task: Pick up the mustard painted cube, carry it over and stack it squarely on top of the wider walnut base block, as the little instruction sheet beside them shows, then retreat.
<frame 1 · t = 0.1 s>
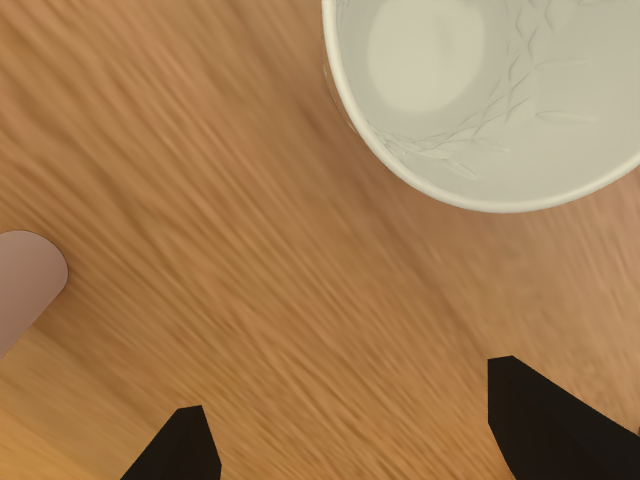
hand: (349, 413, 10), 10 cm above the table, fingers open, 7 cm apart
smoothie: (30, 265, 19), on the table
white cup: (402, 57, 16), on the table
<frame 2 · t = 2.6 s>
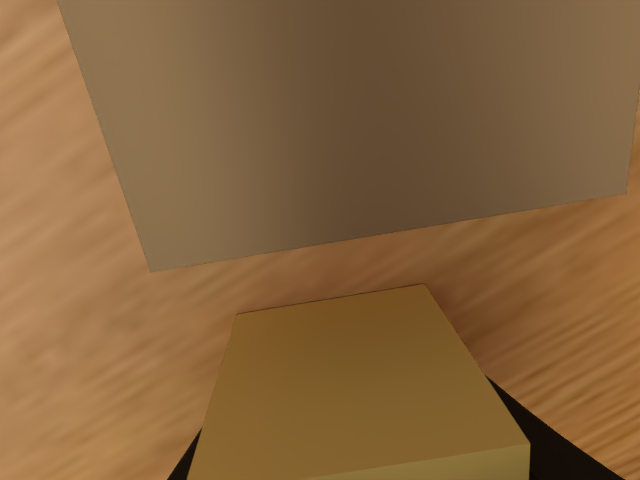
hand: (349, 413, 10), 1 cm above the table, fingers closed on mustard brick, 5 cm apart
mustard brick: (343, 375, 11), on the table, touching gripper
walnut base: (331, 17, 8), on the table
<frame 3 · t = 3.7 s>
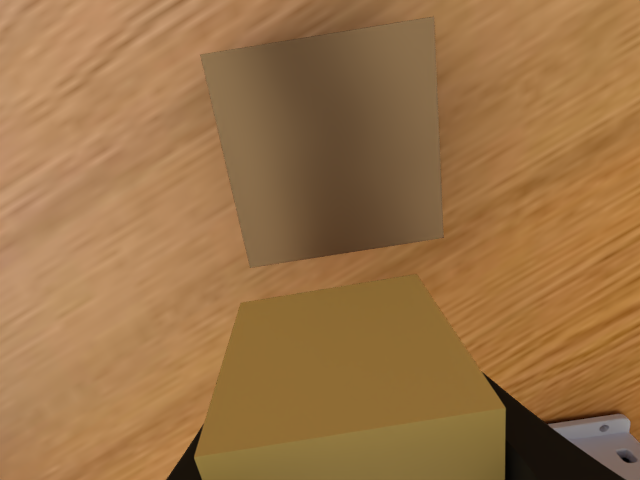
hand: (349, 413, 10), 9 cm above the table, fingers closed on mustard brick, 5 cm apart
mustard brick: (340, 361, 12), point 7 cm above the table, touching gripper
walnut base: (326, 142, 16), on the table
when the fingers open (6 cm above the table, at t = 5.1 s): mustard brick stays where it is, resting on walnut base.
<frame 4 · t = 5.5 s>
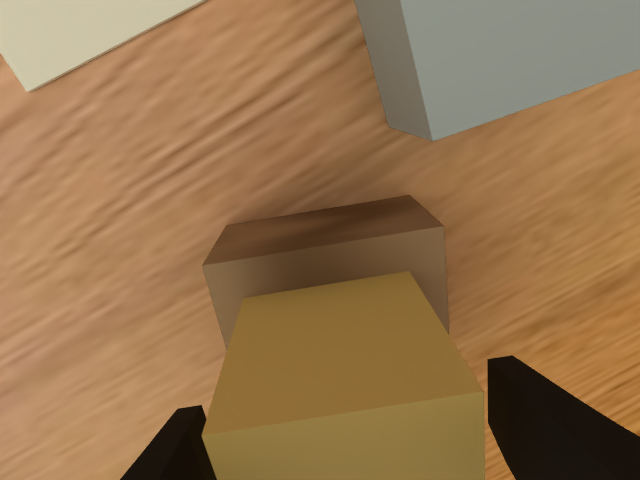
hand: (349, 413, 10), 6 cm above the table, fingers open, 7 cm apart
mustard brick: (338, 353, 12), point 4 cm above the table, touching walnut base
walnut base: (330, 289, 16), on the table, touching mustard brick
slate brick: (440, 25, 13), on the table
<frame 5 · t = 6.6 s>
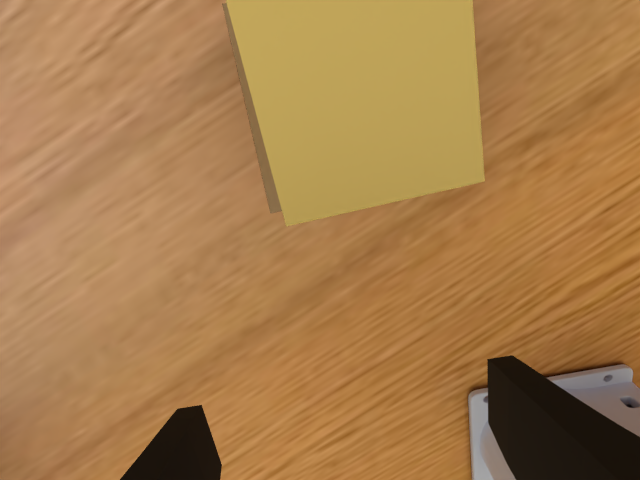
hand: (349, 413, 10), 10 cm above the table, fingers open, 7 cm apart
mustard brick: (343, 98, 13), point 4 cm above the table, touching walnut base
walnut base: (337, 99, 17), on the table, touching mustard brick
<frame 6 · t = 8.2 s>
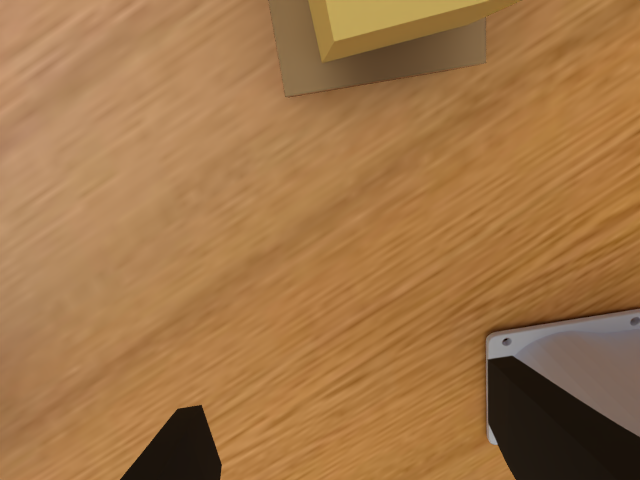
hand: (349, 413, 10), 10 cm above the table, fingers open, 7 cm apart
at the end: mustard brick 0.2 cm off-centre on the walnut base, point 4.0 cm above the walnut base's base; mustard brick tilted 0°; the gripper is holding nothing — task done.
